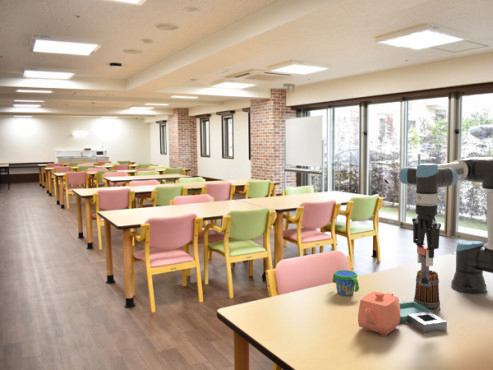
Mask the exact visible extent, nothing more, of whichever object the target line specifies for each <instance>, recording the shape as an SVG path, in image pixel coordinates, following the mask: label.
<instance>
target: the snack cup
mask: <svg viewBox="0 0 493 370" xmlns="http://www.w3.org/2000/svg"><path fill="white" fill-rule="evenodd" d="M332 283H334V284H335V286H336V292H337V294H338V295H340V296H343V297H351V296H353V295H354V293H357V292H359V290H360V286H359V281H358V273H356V272H355V271H352V270H348V269H342V270H336V271H334V273H333V277H332Z"/></svg>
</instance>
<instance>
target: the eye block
mask: <svg viewBox="0 0 493 370" xmlns="http://www.w3.org/2000/svg"><path fill="white" fill-rule="evenodd" d="M406 323H407V324H408V325H410V326H411V327H413V328H414V329H416V330H417V331H419V332H420V333H421V334H423V335H424V334H425V335H426V334H432V333H437V332H438V333H439V332H444V331H447V329H448V321H447V320H445V319H443V318H441V317H440V316H438V315H437V314H433V313H431V312H421V313H413V314H407V322H406Z"/></svg>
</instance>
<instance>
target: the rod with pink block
mask: <svg viewBox="0 0 493 370" xmlns="http://www.w3.org/2000/svg"><path fill="white" fill-rule="evenodd" d="M426 248H428V246H427V245H422V246H419V247H418V253H419V254H421V263H420V265H421V266H420V270H421V281H419V286H422V287H430V286H431V283H430V282H429V270H430V266H426ZM418 253H417V254H418Z"/></svg>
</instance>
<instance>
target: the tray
mask: <svg viewBox="0 0 493 370" xmlns="http://www.w3.org/2000/svg"><path fill="white" fill-rule="evenodd" d="M399 304H400V323H399V324H403V323H407V314H413V313H421V312H431V313H433V314H434V315H436V314H435V312H434V310H429V309H427V308H426V307H424V306H422V305H420V304H418V303H417V302H415V301H414V300H413V301H412V300H411V301H405V302H399Z"/></svg>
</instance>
